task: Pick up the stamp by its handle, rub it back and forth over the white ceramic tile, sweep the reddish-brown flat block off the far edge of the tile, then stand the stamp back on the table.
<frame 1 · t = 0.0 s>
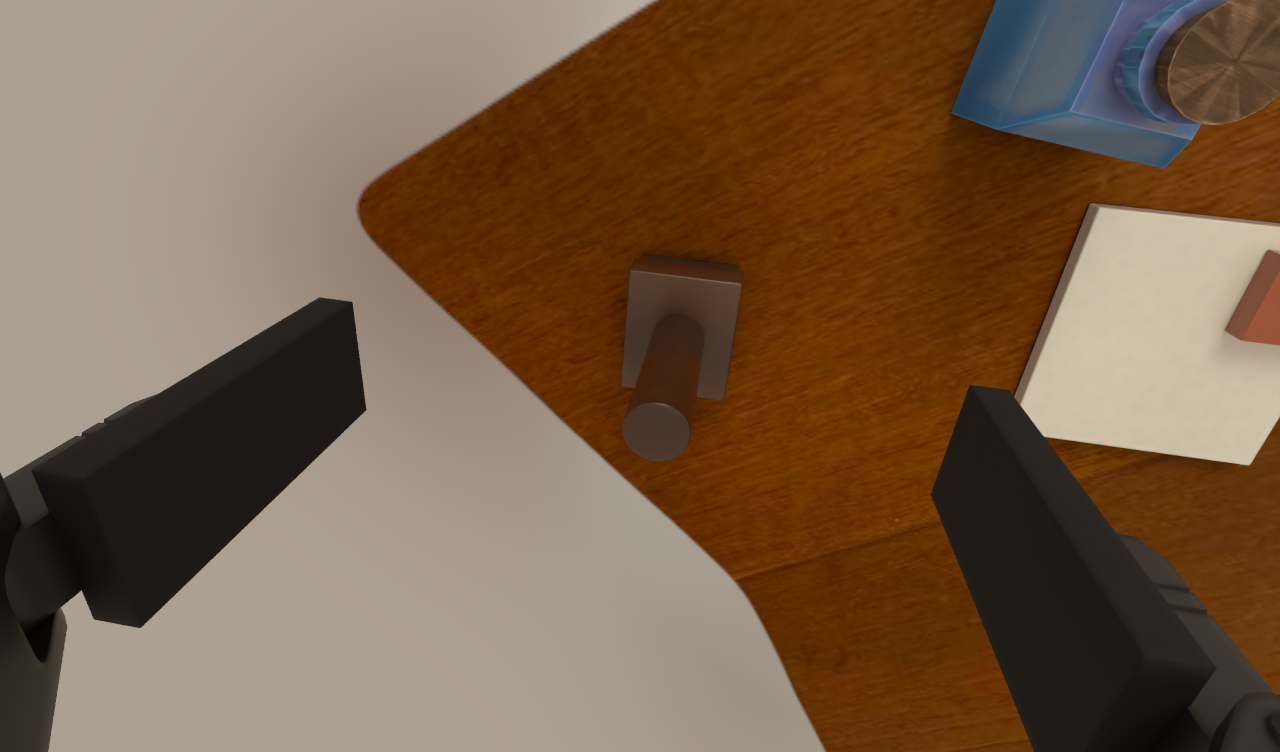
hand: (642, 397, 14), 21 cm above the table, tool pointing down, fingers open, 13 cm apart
perfume bottle: (1050, 53, 28), on the table
stamp: (684, 312, 36), on the table
tile: (1168, 337, 33), on the table
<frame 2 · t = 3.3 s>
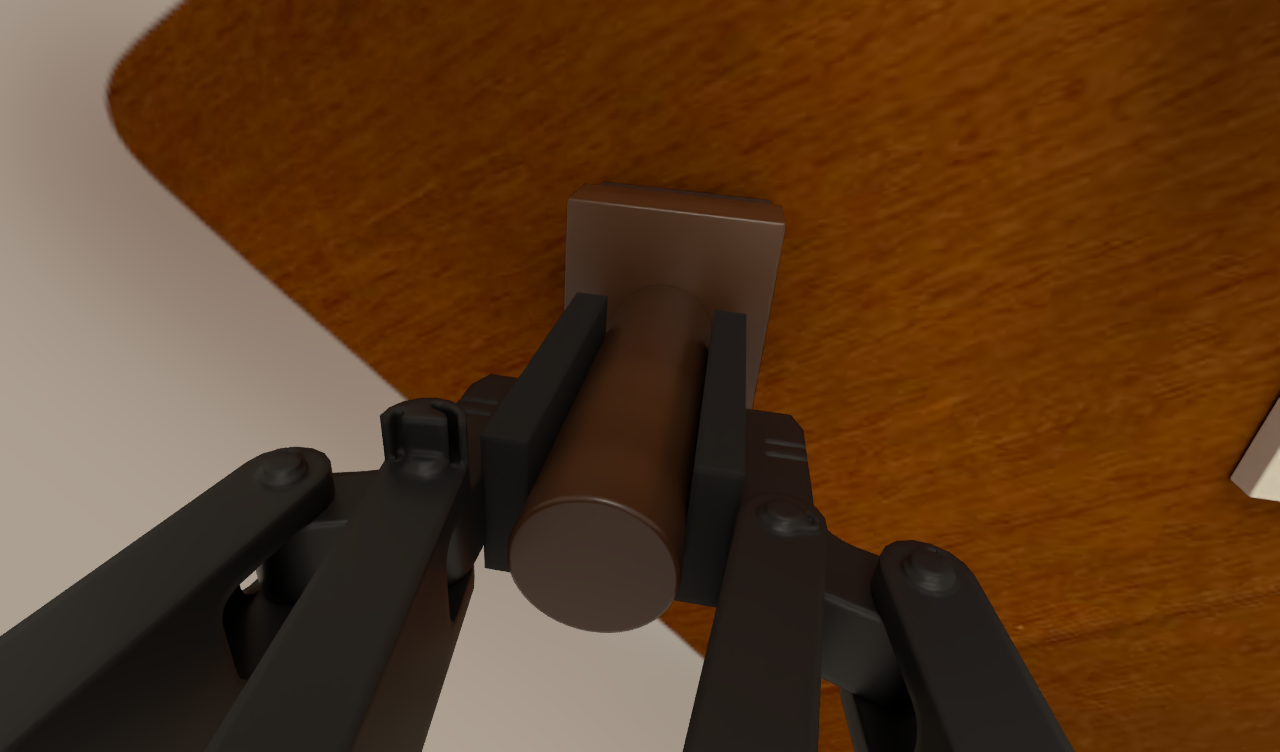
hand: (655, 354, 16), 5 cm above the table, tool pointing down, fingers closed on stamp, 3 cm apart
stamp: (675, 287, 21), on the table, touching gripper
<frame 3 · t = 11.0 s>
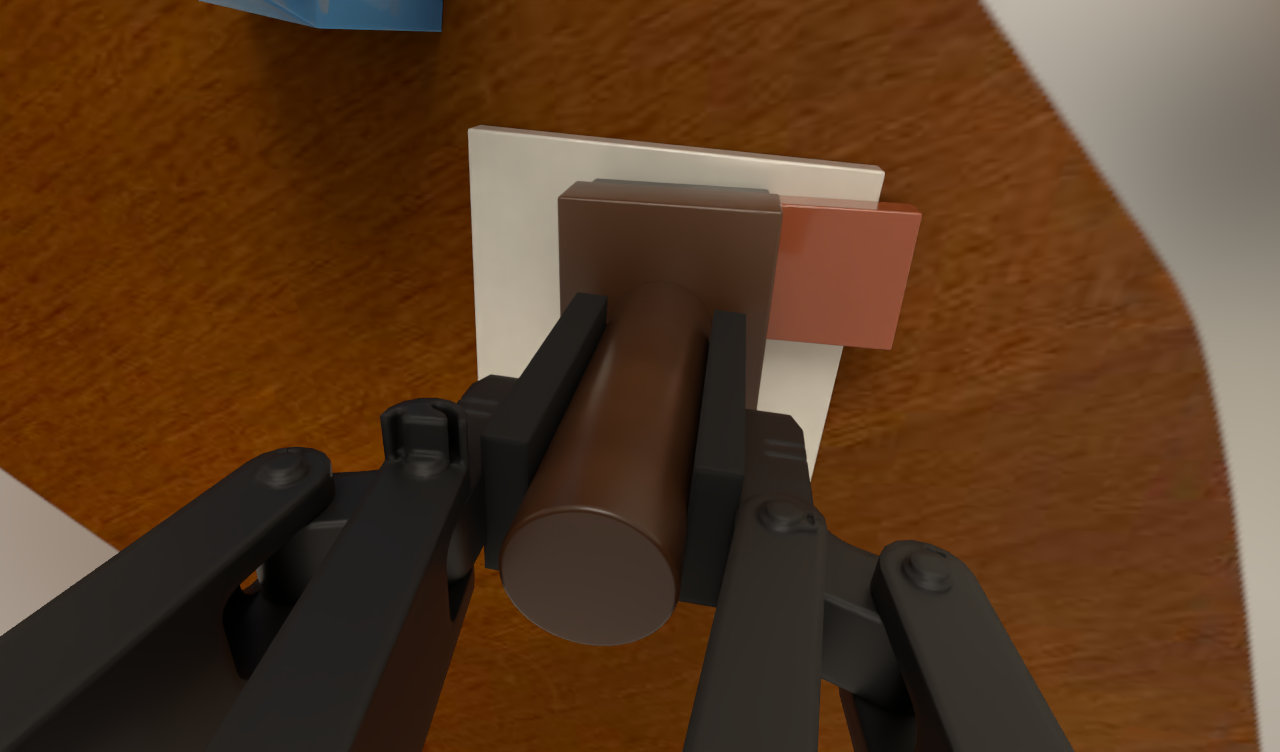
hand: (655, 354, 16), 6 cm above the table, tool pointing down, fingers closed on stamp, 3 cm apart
reddish-brown flat block: (828, 267, 20), point 1 cm above the table, touching tile
stamp: (674, 283, 20), point 1 cm above the table, touching gripper
tile: (655, 329, 22), on the table
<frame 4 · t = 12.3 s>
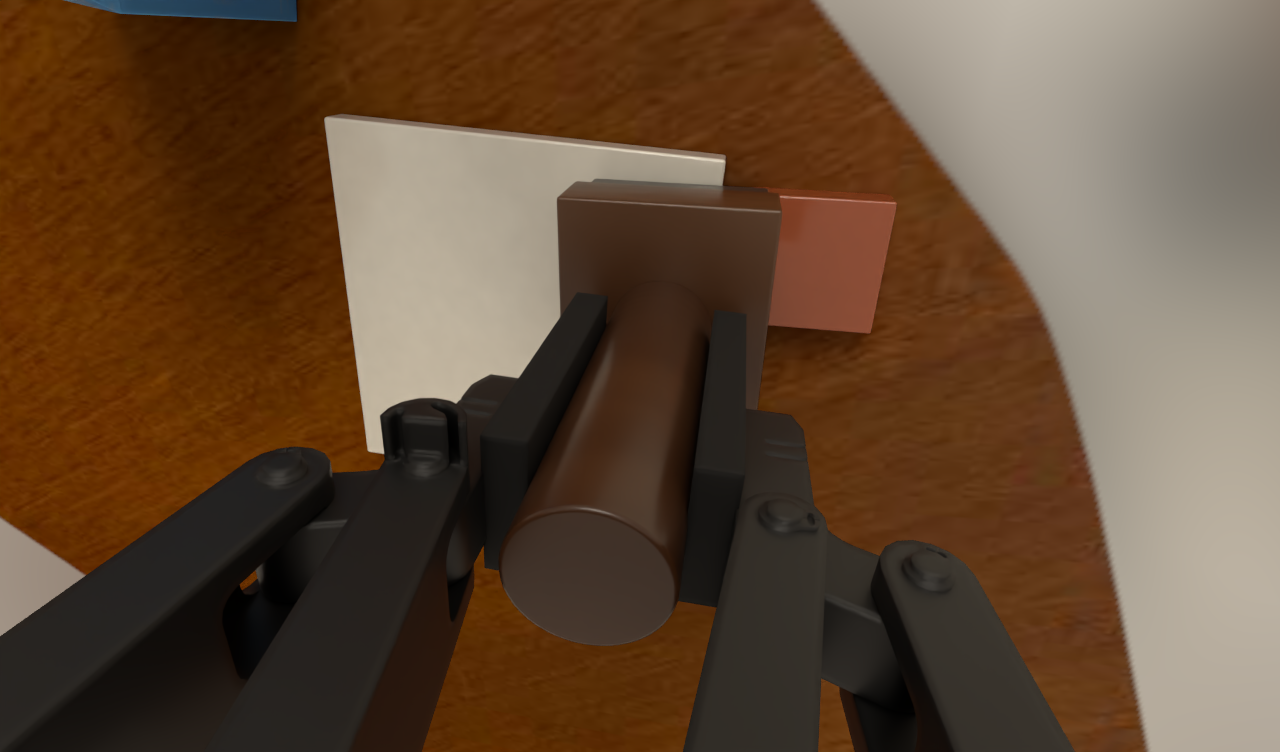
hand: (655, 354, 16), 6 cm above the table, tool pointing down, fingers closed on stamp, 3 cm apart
reddish-brown flat block: (810, 255, 21), on the table
stamp: (674, 282, 20), point 1 cm above the table, touching gripper
tile: (528, 317, 23), on the table
when the fingers open (5 cm above the table, at t = 18.8 s): stamp stays where it is, on the table.
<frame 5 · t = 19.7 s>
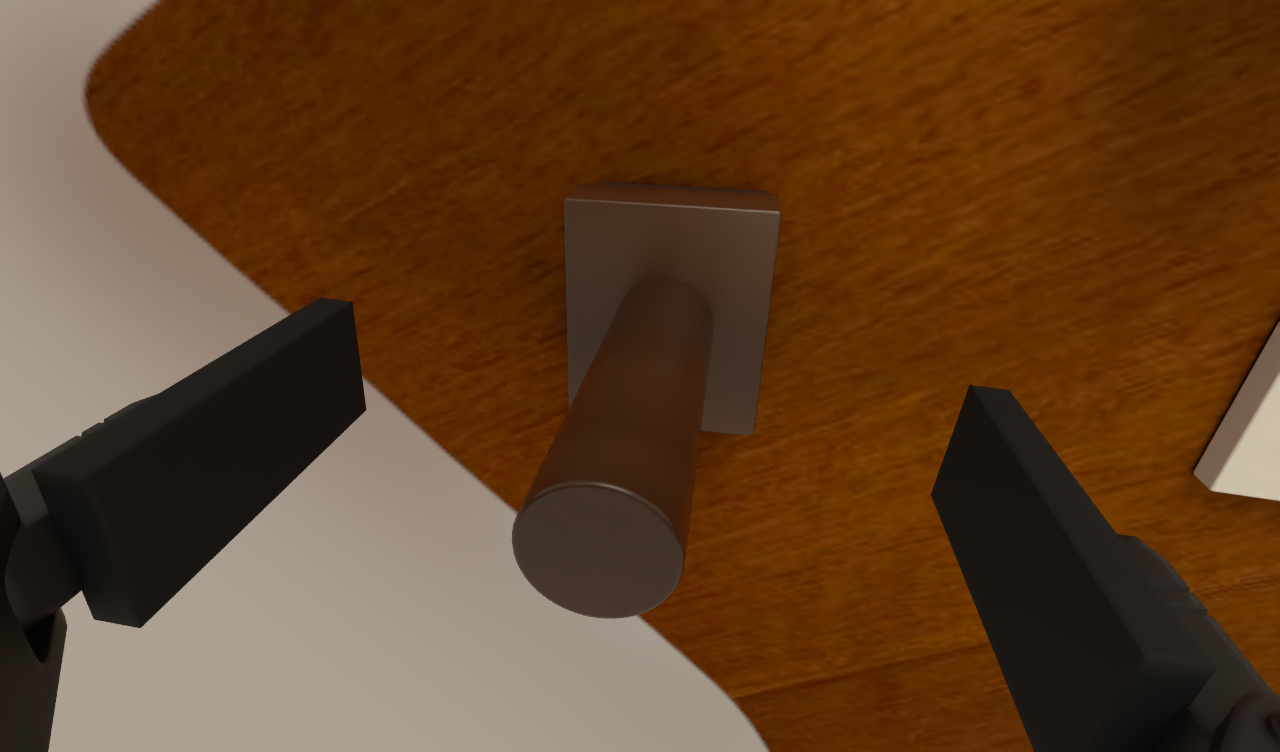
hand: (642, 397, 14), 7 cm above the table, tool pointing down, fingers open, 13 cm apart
stamp: (677, 283, 21), on the table
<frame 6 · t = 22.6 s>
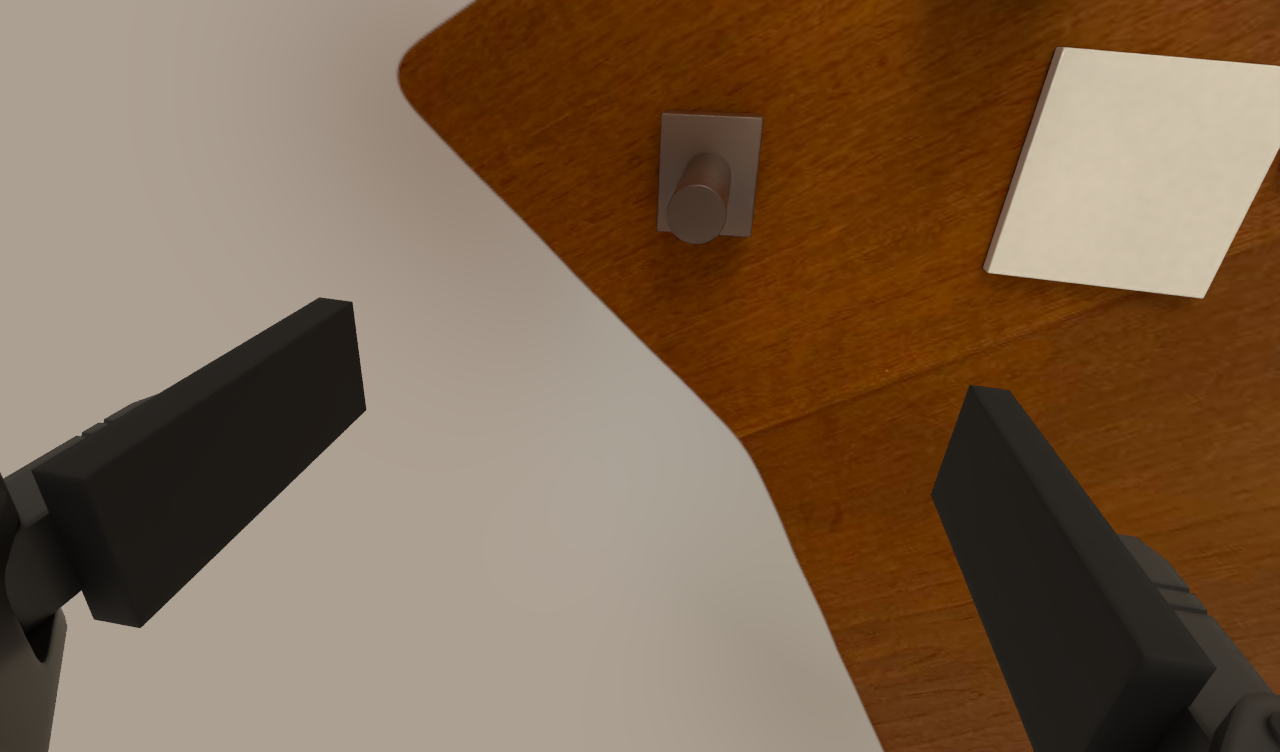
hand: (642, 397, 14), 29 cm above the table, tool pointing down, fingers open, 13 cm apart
stamp: (710, 166, 40), on the table
tile: (1128, 177, 37), on the table
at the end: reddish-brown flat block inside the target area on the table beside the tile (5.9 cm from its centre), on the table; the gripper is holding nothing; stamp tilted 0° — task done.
